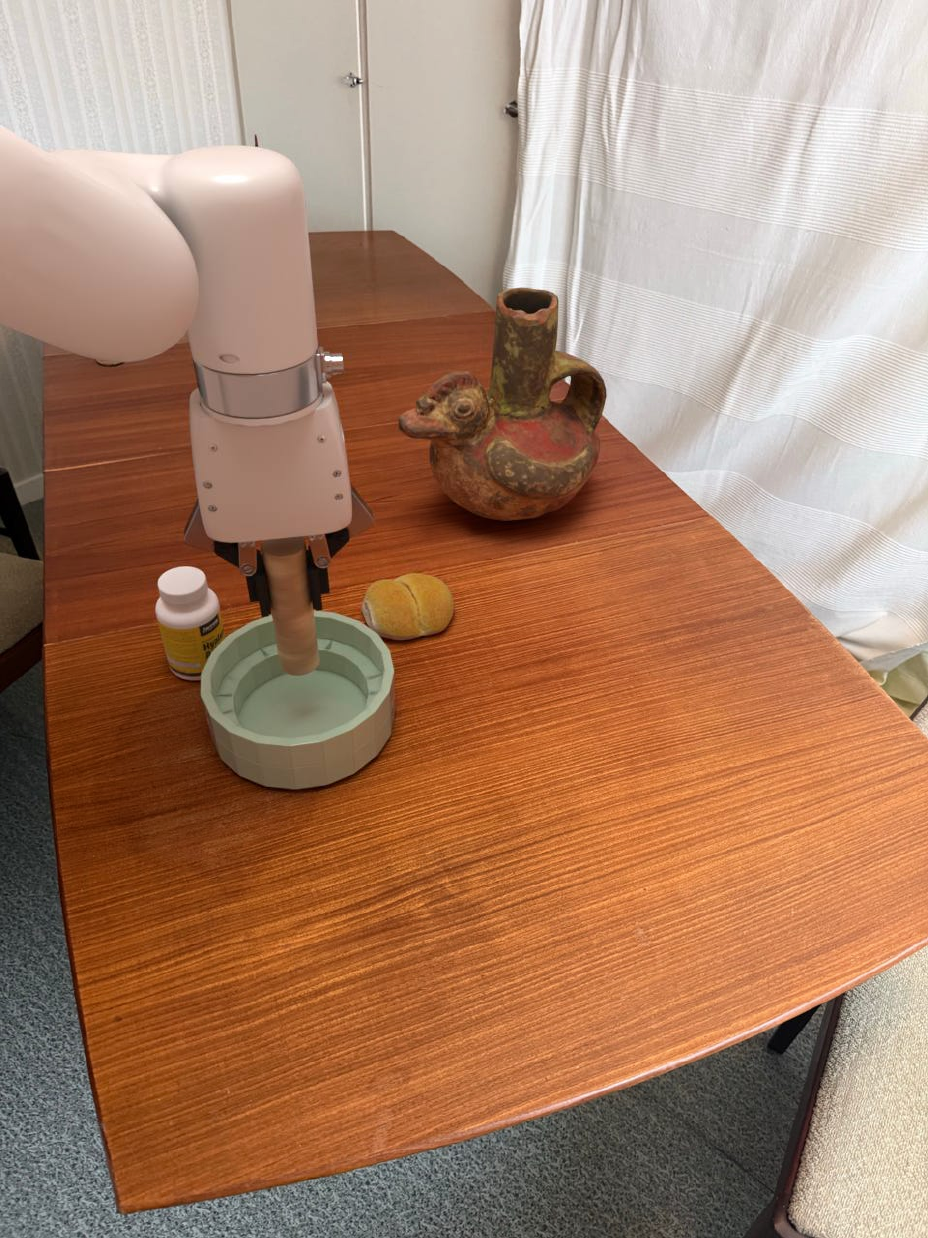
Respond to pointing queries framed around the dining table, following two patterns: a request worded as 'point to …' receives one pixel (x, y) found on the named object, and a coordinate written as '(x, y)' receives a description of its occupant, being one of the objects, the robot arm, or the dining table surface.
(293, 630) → the stirring stick
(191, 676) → the supplement bottle
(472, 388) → the ceramic vessel
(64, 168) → the robot arm
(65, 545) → the dining table surface
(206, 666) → the bowl
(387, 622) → the bread roll
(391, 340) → the dining table surface
